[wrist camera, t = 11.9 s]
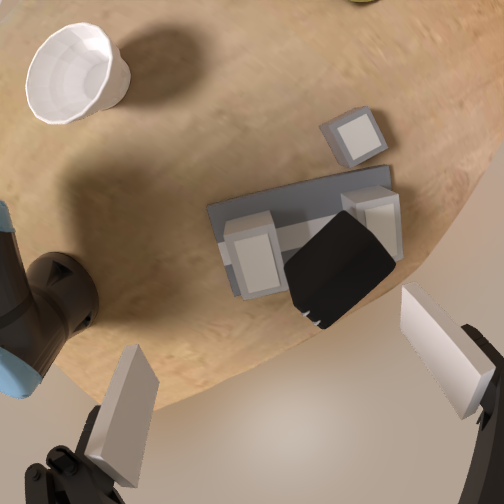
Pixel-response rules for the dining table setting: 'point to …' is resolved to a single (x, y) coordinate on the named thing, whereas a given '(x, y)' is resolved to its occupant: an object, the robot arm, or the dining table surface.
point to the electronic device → (336, 269)
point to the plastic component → (360, 0)
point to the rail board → (299, 224)
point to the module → (354, 136)
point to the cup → (76, 75)
